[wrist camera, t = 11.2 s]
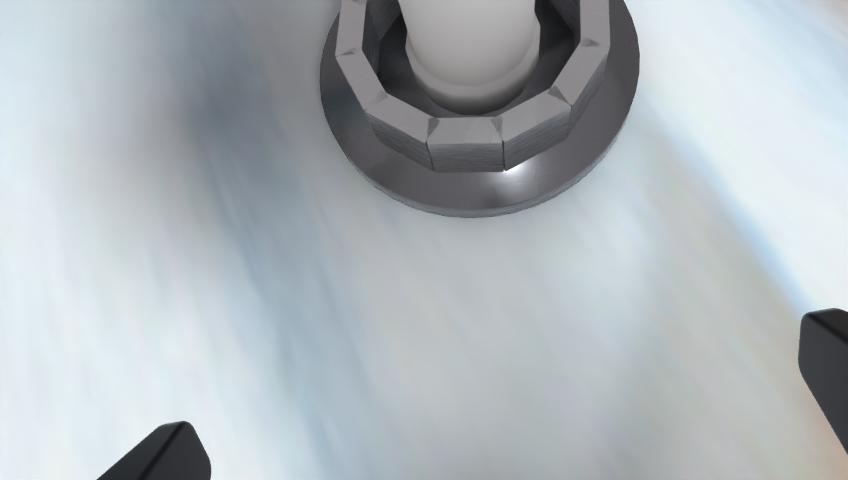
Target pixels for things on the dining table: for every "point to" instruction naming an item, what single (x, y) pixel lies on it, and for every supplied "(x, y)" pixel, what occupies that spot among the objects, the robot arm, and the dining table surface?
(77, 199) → the dining table surface
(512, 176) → the grey ring
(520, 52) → the bottle
